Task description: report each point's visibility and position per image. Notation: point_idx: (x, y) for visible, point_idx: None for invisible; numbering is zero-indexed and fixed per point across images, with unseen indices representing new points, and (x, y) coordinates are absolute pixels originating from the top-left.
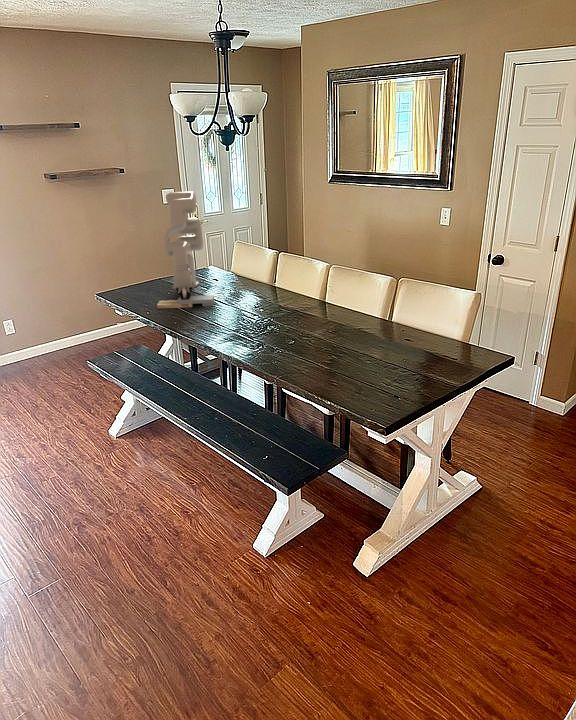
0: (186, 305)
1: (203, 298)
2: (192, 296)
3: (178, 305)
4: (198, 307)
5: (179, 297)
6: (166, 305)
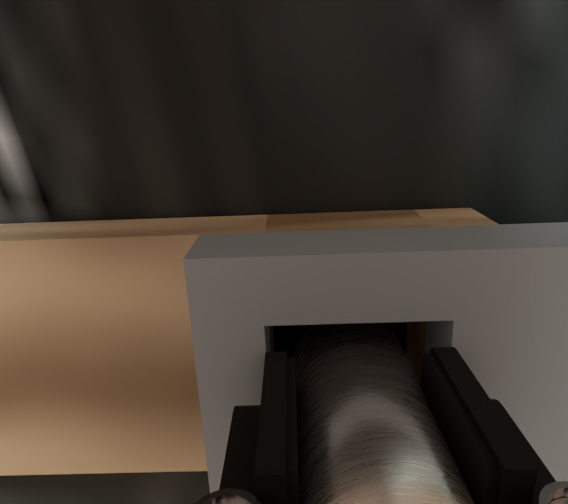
0: None
1: None
2: (519, 287)
3: None
4: None
5: (199, 323)
6: (30, 465)
